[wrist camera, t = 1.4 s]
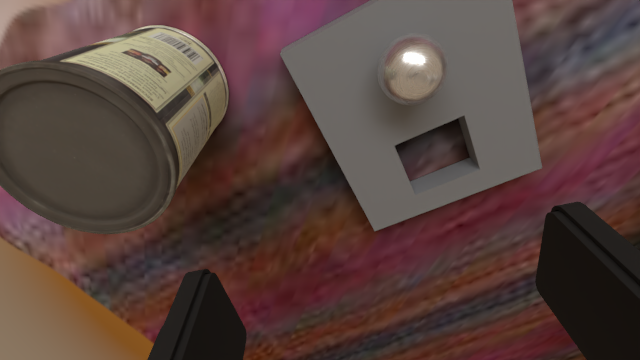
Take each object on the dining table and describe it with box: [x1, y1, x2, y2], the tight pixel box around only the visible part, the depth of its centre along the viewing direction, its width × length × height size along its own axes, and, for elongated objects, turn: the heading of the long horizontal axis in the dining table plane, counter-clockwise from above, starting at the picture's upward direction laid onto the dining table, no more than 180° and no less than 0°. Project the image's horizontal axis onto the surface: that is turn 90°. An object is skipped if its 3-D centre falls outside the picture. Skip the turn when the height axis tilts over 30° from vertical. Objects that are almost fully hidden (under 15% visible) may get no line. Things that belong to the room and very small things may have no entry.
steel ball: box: [377, 33, 448, 105], centre depth 25 cm, size 5×5×5 cm
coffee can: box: [0, 25, 229, 234], centre depth 24 cm, size 10×10×14 cm
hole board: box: [280, 0, 542, 231], centre depth 30 cm, size 17×20×2 cm
